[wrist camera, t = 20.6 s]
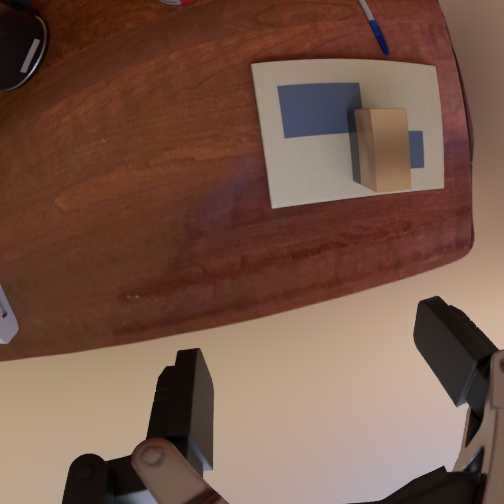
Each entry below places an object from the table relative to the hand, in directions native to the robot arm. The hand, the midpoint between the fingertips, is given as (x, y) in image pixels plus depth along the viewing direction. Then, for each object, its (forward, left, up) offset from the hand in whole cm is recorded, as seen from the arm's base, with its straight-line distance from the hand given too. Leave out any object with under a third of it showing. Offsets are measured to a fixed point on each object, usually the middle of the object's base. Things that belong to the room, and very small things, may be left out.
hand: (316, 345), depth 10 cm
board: (-6, +11, -22) cm, 25 cm away
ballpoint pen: (-19, +14, -22) cm, 32 cm away
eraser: (-4, +11, -20) cm, 24 cm away
